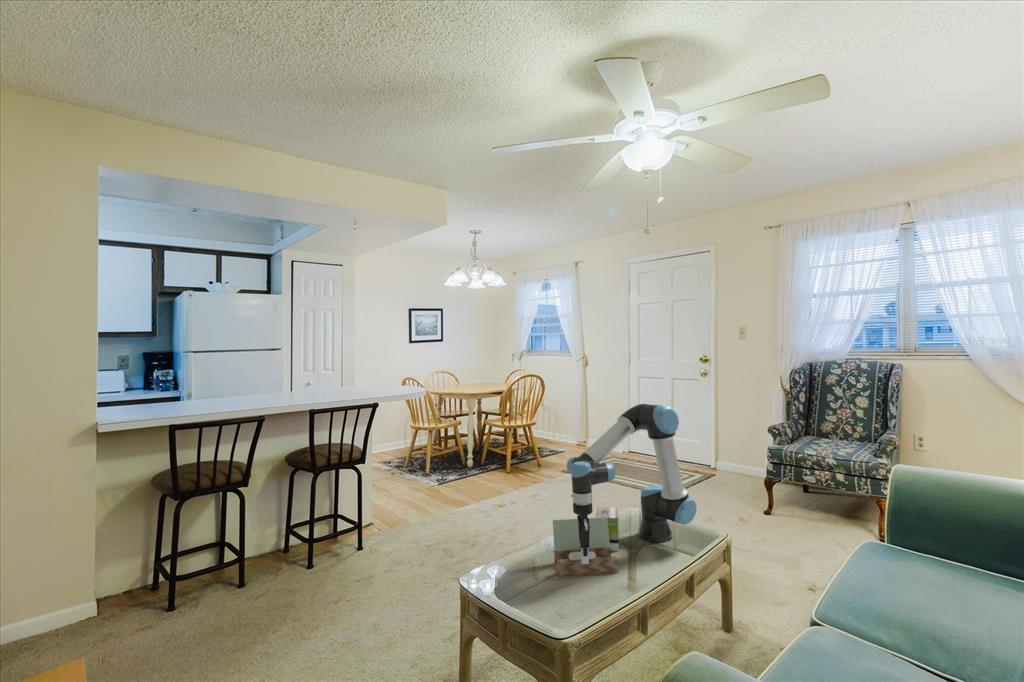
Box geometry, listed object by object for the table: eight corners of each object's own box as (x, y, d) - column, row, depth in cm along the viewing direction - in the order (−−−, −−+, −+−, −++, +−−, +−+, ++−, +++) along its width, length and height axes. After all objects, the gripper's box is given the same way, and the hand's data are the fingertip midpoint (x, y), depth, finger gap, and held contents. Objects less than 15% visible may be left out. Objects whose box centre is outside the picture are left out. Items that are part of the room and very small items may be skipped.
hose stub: (595, 557, 193) (594, 549, 193) (596, 560, 190) (596, 552, 190) (568, 559, 193) (567, 551, 193) (569, 562, 190) (569, 554, 190)
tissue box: (610, 559, 203) (610, 547, 203) (618, 572, 191) (617, 559, 191) (554, 562, 201) (554, 550, 202) (558, 576, 189) (558, 562, 190)
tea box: (620, 551, 210) (618, 517, 211) (596, 550, 212) (595, 517, 213) (619, 538, 225) (617, 506, 225) (597, 537, 227) (596, 506, 227)
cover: (609, 546, 203) (609, 546, 204) (607, 517, 205) (606, 516, 206) (554, 550, 202) (554, 549, 202) (552, 520, 204) (552, 520, 205)
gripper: (570, 497, 193) (572, 556, 193) (576, 508, 180) (578, 571, 180) (588, 496, 194) (591, 555, 193) (595, 507, 181) (598, 570, 180)
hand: (585, 563), depth 186 cm, fingers closed
